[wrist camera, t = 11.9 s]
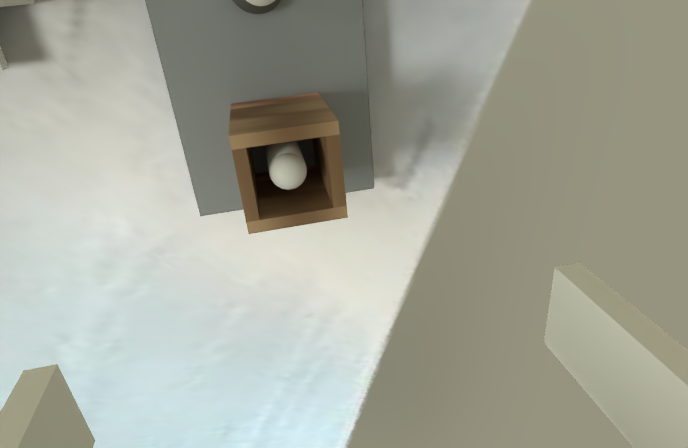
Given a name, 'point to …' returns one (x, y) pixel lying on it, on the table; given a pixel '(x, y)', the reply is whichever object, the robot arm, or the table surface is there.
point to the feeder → (4, 1)
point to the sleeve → (321, 179)
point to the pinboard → (262, 84)
